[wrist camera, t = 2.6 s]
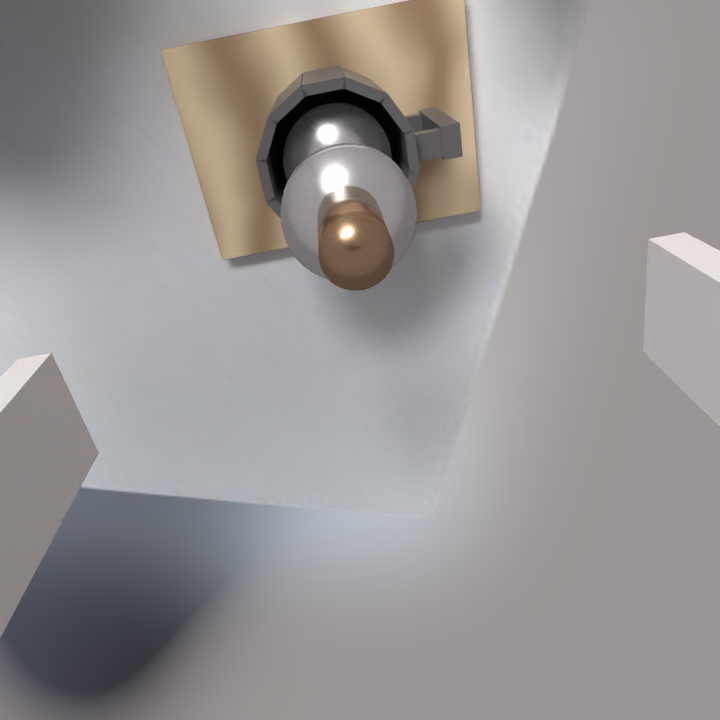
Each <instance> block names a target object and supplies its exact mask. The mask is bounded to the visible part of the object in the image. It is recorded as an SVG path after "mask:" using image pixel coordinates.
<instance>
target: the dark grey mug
mask: <svg viewBox="0 0 720 720" xmlns="http://www.w3.org/2000/svg"><path fill="white" fill-rule="evenodd" d="M329 102H344V103H349V104H353V105H356V106H358V107H360V108H362V109H364V110H365V111H367V112H368V113H369V114H371V115H372V116H373V117H374V118H375V119H376V120H377V121H378V123H379V124H380V125H381V127H382V128H383V130H384V132H385V134H386V136H387V138H388V141H389V144H390V148H391V155H392V160H393V161H394V162H395V163H396V164H397V166H398V167H399V168H400V169H401V171H402V172H403V174H404V175H405V177H406V178H407V180H408V182H409V184H410V186H411V188H412V190H413V189H414V187H415V184H416V182H417V179H418V177H419V173H420V170H419V161H425V160H430V159H435V158H440V157H441V158H442V159H443V160H448V159H453V158H458V157H463V153H462V141H461V130H460V123H459V122H458V121H456V120H454V119H453V118H451V117H450V116H448V115H446V114H445V113H443V112H442V111H440V110H439V109H437V108H435V107H433V108H427V109H422V110H419V113H418V114H412V115H407V116H404V115H403V114H402V112H401V111H400V109H399V108H398V107H397V105H396V104H395V103H394V101H393V100H392V99H391V97H390V96H389V95H388V94H387V93H386V92H385V91H384V90H383V89H381V88H380V87H379V86H378V85H377V84H376V83H374V82H373V81H372V80H371V79H370V78H367V77H365V76H362V75H360V74H357V73H355V72H352V71H350V70H347V69H345V68H342V67H340V66H332V67H327V68H322V69H317V70H312V71H307V72H303V73H302V74H301V75H300V76H299V77H298V78H296V79H295V80H294V81H293V82H292V83H291V84H290V85H289V86H288V87H287V88H286V89H285V90H284V91H283V92H282V93H281V94H280V95H279V96H278V97H277V99H276V101H275V103H274V105H273V107H272V109H271V111H270V113H269V115H268V117H267V121H266V124H265V128H264V131H263V135H262V139H261V142H260V146H259V149H258V153H257V157H256V165H257V169H258V173H259V177H260V181H261V185H262V189H263V193H264V197H265V201H266V202H267V205H268V206H269V207H270V208H271V209H272V210H273V211H274V212H275V213H276V214H277V215H278V216H279V217H280V219H281V215H280V213H281V203H282V198H283V193H284V190H285V187H286V184H287V182H288V181H287V179H286V175H285V172H284V166H283V153H284V147H285V143H286V139H287V136H288V134H289V132H290V130H291V128H292V126H293V125H294V124H295V122H296V121H297V120H298V119H299V118H300V117H301V116H302V115H303V114H304V113H305V112H307V111H308V110H310V109H312V108H313V107H316V106H318V105H321V104H324V103H329Z"/></svg>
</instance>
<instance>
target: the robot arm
mask: <svg viewBox="0 0 720 720" xmlns="http://www.w3.org/2000/svg"><path fill="white" fill-rule="evenodd" d="M644 353H645V354H646V355H647V356H648V357H649V358H650V359H651V360H652V361H653V362H654V363H655V364H656V365H657V366H658V367H659V368H660V369H661V370H662V371H663V372H664V373H665V374H666V375H667V376H669V378H670V379H671V380H673V381H674V382H675V383H676V384H677V385H678V386H679V387H680V388H681V389H682V390H683V391H684V392H685V393H686V394H687V395H688V396H689V397H690V398H691V399H692V400H693V401H694V402H695V403H696V404H698V406H699V407H700V408H701V409H702V410H704V411H705V412H706V413H707V414H708V415H709V416H710V417H711V418H712V419H713V420H714V421H715V422H716V423H717V424H718V425H719V426H720V251H719V250H717V249H715V248H713V247H711V246H709V245H707V244H706V243H704V242H702V241H700V240H698V239H696V238H694V237H692V236H690V235H689V234H687V233H678V234H673V235H668V236H663V237H657V238H652V239H649V240H648V263H647V285H646V308H645V331H644ZM97 455H98V451H97V449H96V446H95V444H94V442H93V440H92V438H91V436H90V434H89V432H88V429H87V427H86V425H85V423H84V421H83V419H82V417H81V415H80V412H79V410H78V408H77V406H76V404H75V402H74V400H73V398H72V396H71V393H70V391H69V389H68V387H67V385H66V383H65V381H64V379H63V376H62V374H61V372H60V370H59V368H58V366H57V364H56V362H55V359H54V357H53V355H52V353H47V354H42V355H37V356H31V357H26V358H21V359H17V360H16V361H15V362H14V363H13V365H12V366H11V367H10V368H9V369H8V370H7V371H6V372H5V373H4V374H3V375H2V376H1V377H0V637H1V635H2V633H3V631H4V629H5V627H6V626H7V624H8V622H9V620H10V618H11V616H12V614H13V613H14V611H15V609H16V607H17V605H18V603H19V601H20V599H21V597H22V596H23V594H24V592H25V590H26V588H27V586H28V584H29V582H30V580H31V579H32V577H33V575H34V573H35V571H36V569H37V567H38V566H39V564H40V562H41V560H42V558H43V556H44V554H45V552H46V551H47V549H48V547H49V545H50V543H51V541H52V539H53V537H54V536H55V534H56V532H57V530H58V528H59V526H60V524H61V522H62V521H63V519H64V517H65V515H66V513H67V511H68V509H69V507H70V505H71V504H72V502H73V500H74V498H75V496H76V494H77V492H78V490H79V489H80V487H81V485H82V483H83V481H84V479H85V477H86V475H87V474H88V472H89V470H90V468H91V466H92V464H93V462H94V460H95V459H96V457H97Z"/></svg>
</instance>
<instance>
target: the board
mask: <svg viewBox="0 0 720 720" xmlns="http://www.w3.org/2000/svg"><path fill="white" fill-rule="evenodd" d="M160 51H161V54H162V57H163V61H164V64H165V68H166V71H167V74H168V78H169V81H170V84H171V88H172V91H173V95H174V98H175V101H176V105H177V108H178V111H179V115H180V118H181V122H182V125H183V128H184V132H185V135H186V138H187V142H188V145H189V149H190V152H191V155H192V159H193V162H194V165H195V169H196V172H197V176H198V179H199V182H200V186H201V189H202V192H203V196H204V199H205V203H206V206H207V209H208V213H209V216H210V219H211V223H212V226H213V230H214V233H215V236H216V240H217V243H218V246H219V250H220V253H221V257H222V260H225V259H230V258H235V257H240V256H245V255H251V254H256V253H261V252H266V251H272V250H277V249H282V248H287V247H288V245H287V243H286V241H285V238H284V235H283V232H282V226H281V219H280V217H279V216H278V215H277V214H276V213H275V212H274V211H273V210H272V209H271V208H270V207H269V206H268V205H267V202H266V201H265V197H264V193H263V189H262V185H261V181H260V177H259V173H258V169H257V165H256V157H257V153H258V149H259V146H260V142H261V139H262V135H263V131H264V128H265V124H266V121H267V117H268V115H269V113H270V111H271V109H272V107H273V105H274V103H275V101H276V99H277V97H278V96H279V95H280V94H281V93H282V92H283V91H284V90H285V89H286V88H287V87H288V86H289V85H290V84H291V83H292V82H293V81H294V80H295V79H296V78H298V77H299V76H300V75H301V74H302V73H303V72H307V71H312V70H317V69H322V68H327V67H332V66H340V67H342V68H345V69H347V70H350V71H352V72H355V73H357V74H360V75H362V76H365V77H367V78H370V79H371V80H372V81H373V82H374V83H376V84H377V85H378V86H379V87H380V88H381V89H383V90H384V91H385V92H386V93H387V94H388V95H389V96H390V97H391V99H392V100H393V101H394V103H395V104H396V105H397V107H398V108H399V109H400V111H401V112H402V114H403V115H404V116H407V115H412V114H418V113H419V110H422V109H427V108H433V107H435V108H437V109H439V110H440V111H442V112H443V113H445V114H446V115H448V116H450V117H451V118H453V119H454V120H456V121H458V122H459V123H460V130H461V141H462V153H463V157H458V158H453V159H448V160H443V159H442V158H441V157H440V158H435V159H430V160H425V161H419V170H420V173H419V177H418V179H417V182H416V184H415V187H414V189H413V193H414V196H415V201H416V208H417V219H416V223H418V222H423V221H428V220H434V219H439V218H444V217H449V216H455V215H460V214H465V213H470V212H476V211H481V208H480V195H479V182H478V170H477V157H476V144H475V131H474V119H473V106H472V93H471V81H470V68H469V55H468V42H467V30H466V17H465V4H464V0H409V1H404V2H399V3H394V4H389V5H384V6H379V7H374V8H369V9H364V10H359V11H354V12H349V13H344V14H339V15H334V16H329V17H323V18H318V19H313V20H308V21H303V22H298V23H293V24H288V25H283V26H278V27H273V28H268V29H263V30H258V31H253V32H248V33H243V34H238V35H233V36H228V37H223V38H218V39H213V40H208V41H203V42H198V43H193V44H188V45H183V46H178V47H173V48H168V49H163V50H160Z"/></svg>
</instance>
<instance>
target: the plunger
mask: <svg viewBox="0 0 720 720" xmlns="http://www.w3.org/2000/svg"><path fill="white" fill-rule="evenodd" d="M283 166H284V172H285V175H286V179H287V181H288V182H287V184H286V187H285V190H284V193H283V198H282V203H281V213H280V215H281V226H282V232H283V235H284V238H285V241H286V243H287V245H288V247H289V249H290V250H291V252H292V253H293V255H294V256H295V257H296V259H297V260H298V261H299V262H300V263H301V264H302V265H303V266H304V267H306V268H307V269H308V270H310V271H311V272H313V273H315V274H317V275H318V276H321V277H323V278H326V279H329V280H330V281H331V282H332V283H334V284H335V285H337V286H339V287H341V288H344V289H348V290H364V289H368V288H370V287H373V286H374V285H376V284H378V283H379V282H381V281H382V280H383V279H384V278H385V277H386V275H387V274H388V273H389V271H390V269H391V267H392V266H393V265H394V264H395V263H396V262H397V261H398V260H399V259H400V258H401V257H402V255H403V254H404V253H405V251H406V250H407V248H408V246H409V244H410V242H411V240H412V237H413V234H414V231H415V227H416V219H417V208H416V201H415V196H414V193H413V190H412V188H411V186H410V184H409V182H408V180H407V178H406V177H405V175H404V174H403V172H402V171H401V169H400V168H399V167H398V166H397V164H396V163H395V162H394V161H393V160H392V155H391V148H390V144H389V141H388V138H387V136H386V134H385V132H384V130H383V128H382V127H381V125H380V124H379V123H378V121H377V120H376V119H375V118H374V117H373V116H372V115H371V114H369V113H368V112H367V111H365V110H364V109H362V108H360V107H358V106H356V105H353V104H349V103H344V102H329V103H324V104H321V105H318V106H316V107H313V108H312V109H310V110H308V111H307V112H305V113H304V114H303V115H302V116H301V117H300V118H299V119H298V120H297V121H296V122H295V124H294V125H293V126H292V128H291V130H290V132H289V134H288V136H287V139H286V143H285V147H284V153H283Z"/></svg>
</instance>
